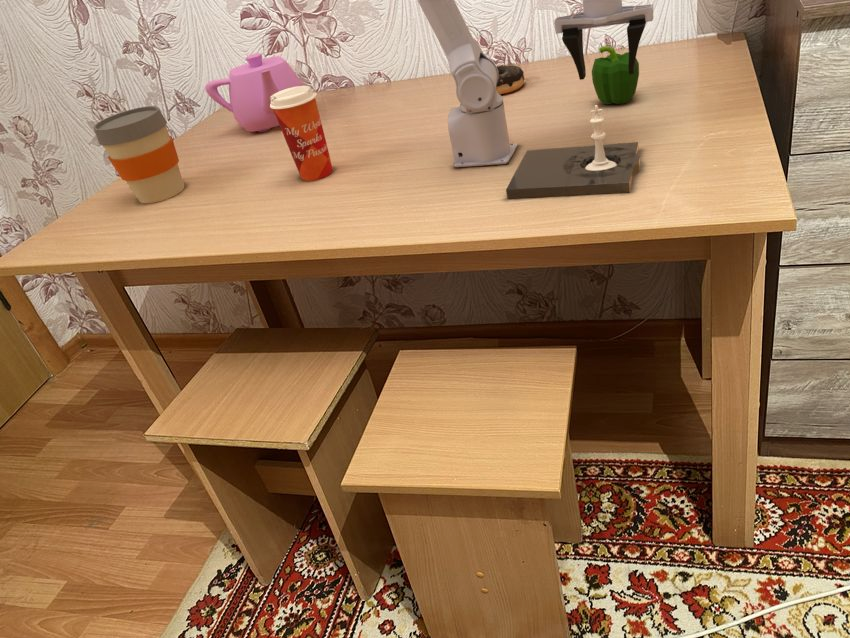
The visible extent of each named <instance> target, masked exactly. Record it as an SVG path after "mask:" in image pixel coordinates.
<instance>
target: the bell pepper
mask: <svg viewBox="0 0 850 638" xmlns="http://www.w3.org/2000/svg"><path fill="white" fill-rule="evenodd" d="M598 51H599V53H600V54H603V53H604V52H607V53H609V55H607V56H605V57H598V58H594V61H593V64H592V69H591V79H592V85H593V88H594V91H595V95H596V96H597V98H598V100H599V101H600V103H602V105H611V104H615V105H621V104H626V103H629V102H631V101H632V99H634V98H633V97H634V96H635V94H636V92H637V88H638V82H639V76H640V63H639V61H638V59H637V58H636V60H635V71H634V74H629V51H626V52H624V53H623V54H621V53H616V50H615V48H613V47H611V46H609V45H604V46H601V47H598Z"/></svg>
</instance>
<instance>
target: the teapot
mask: <svg viewBox="0 0 850 638" xmlns="http://www.w3.org/2000/svg"><path fill="white" fill-rule="evenodd" d="M245 61H247V63H245V64H244V63H243V64H241V65H239V66H235V67H233V68H231V69H230V70H229V73H228V78H219V79H215V80H214V79H213V80H211V81H208V82H207V83H206V84H205V85H204V88H205V92H206V93H207V95H208V97H210V98H211V100H213V101H214V102H215V103H216V104H218V105H220V106H221V107H222V108H224V109H226V110H227V111H229V112H231V113H232V114H233V117H234V119H235V121H236V122H237V123H238V125H240V126H241V127H242V128H243V129H244V130H245V131H247V132H258V133H265V132H267V131H269V130H271V128H274V127H280V125H279V123H278V120H277V118H276V115H275V113H274V110H273V109H272V108H270V104H271V100H270V98H271V96H272V95H273V94H275V93H277V92H279V91H282V90H285V89H288V88H292V87H297V86H304V84H303V82H302V81H301V79H300V77H299V76H298V75H297V73H296V72H295V70H294V69H293V68H292V66H291V65H290V64H289V63H288V62H287V60H285V58H283V57H281V56H279V55H275V56H270V57H266V58H263V54H262V52H261V53H260V52H257V53H251V54H249V55H246V57H245ZM226 85H228V92H229V93H228V94H229V95H228V96H229V102H228V101H227V100H226V99H225V98H224V97H223V96H222V95H221V94H220V92H219V91H218V88H219V87H221V86H226Z"/></svg>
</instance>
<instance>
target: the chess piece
mask: <svg viewBox="0 0 850 638" xmlns="http://www.w3.org/2000/svg"><path fill="white" fill-rule="evenodd" d="M603 112H604V111H603V108H600V109H599V105H598V104H595V105H594V109H591V110H590V115H594V117H592V118H591V119H590V120H589V122H590V125H591V126H592V130H593V131H594V132H593V133H592V134H590V135H591V136H590V138H592V139H593V140H594V143H595V144H594V145H595V159H594V160H593V162H592V163H590V164H588V165H587V166H586V167H585V169H586V170H593V171H596V170H604V169H609V168H612V167H614V166H617V164H616V163H615V162H613V161H609V160H608V159H607V158H606V157H605V153H604V148H603V145H604V143H603V139H604V138H605V137H606V132H605V131H603V127H604V123H605V117H603V116H599V115H600V114H603Z"/></svg>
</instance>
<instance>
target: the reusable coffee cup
mask: <svg viewBox="0 0 850 638" xmlns="http://www.w3.org/2000/svg"><path fill="white" fill-rule="evenodd" d="M167 125H168V123H167V120H166V118H165V116H164V114H163V113H162V111H161V109H160V107H159V106H156V105H147V106H139V107H136V108H131V109H128V110H125V111H121V112H118V113H116V114H113V115H111V116H108V117H106V118H103V119H102V120H99V121H98V122H97V123H95V124H94V125H93V127H92V129H93V131H94V133H95V137H96V139H97V141H98V144H99V145H100V146H102V147H103V148H104V150H105V151H106V153H107V155H108V156H107V158H108V159H107V160H108V161H109V162H110V163H111V165H112V167H113V168H114V169H115V171H116V172H117V174H118V176H119V177H120V179H121V180H122V181H125V182H126V184H127V185H128V186H129V188H130V189H131V191H132V193H133V194H134V196H135V197H136V198H137V201H138V202H139V203H141V204H154V203H159V202H162V201H165V200H169V199H170V198H172V197H175V196H177V195H179V194H180V193H181V192H182V191H184V189H185V183H184V180H183V177H182V176H183V175H182V173H181V170H180V167H179V162H180V159H179V156H178V152H177V149H176V146H175V142H174V138H173V137H172V136H171V135H170V133H169V131H168V127H167Z"/></svg>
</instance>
